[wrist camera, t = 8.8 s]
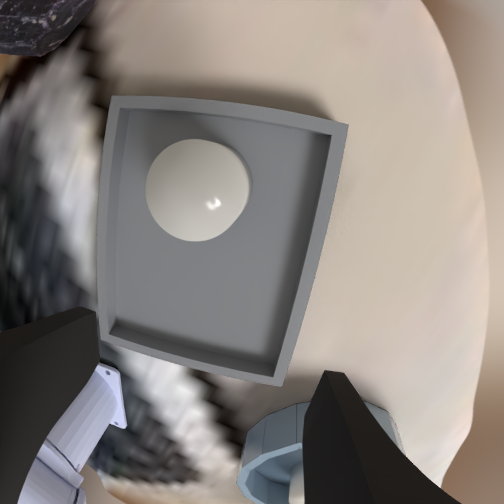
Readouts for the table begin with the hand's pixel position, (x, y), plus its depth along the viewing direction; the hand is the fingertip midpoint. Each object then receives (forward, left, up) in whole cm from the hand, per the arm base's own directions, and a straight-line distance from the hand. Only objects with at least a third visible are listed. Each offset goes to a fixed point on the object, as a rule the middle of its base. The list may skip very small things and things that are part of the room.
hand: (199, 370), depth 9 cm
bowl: (+10, -16, -10) cm, 21 cm away
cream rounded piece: (-2, +4, -9) cm, 10 cm away
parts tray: (-2, +1, -10) cm, 10 cm away
